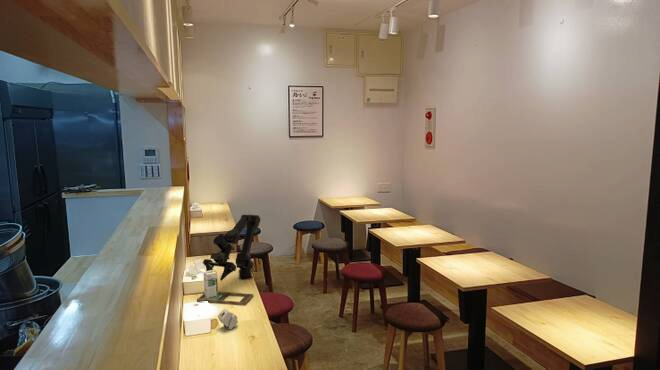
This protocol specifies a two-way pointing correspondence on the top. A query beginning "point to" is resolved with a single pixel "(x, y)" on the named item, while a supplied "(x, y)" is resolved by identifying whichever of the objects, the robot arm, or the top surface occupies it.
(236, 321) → the grey lumpy piece
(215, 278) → the syrup box
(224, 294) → the brown rectangular tray
